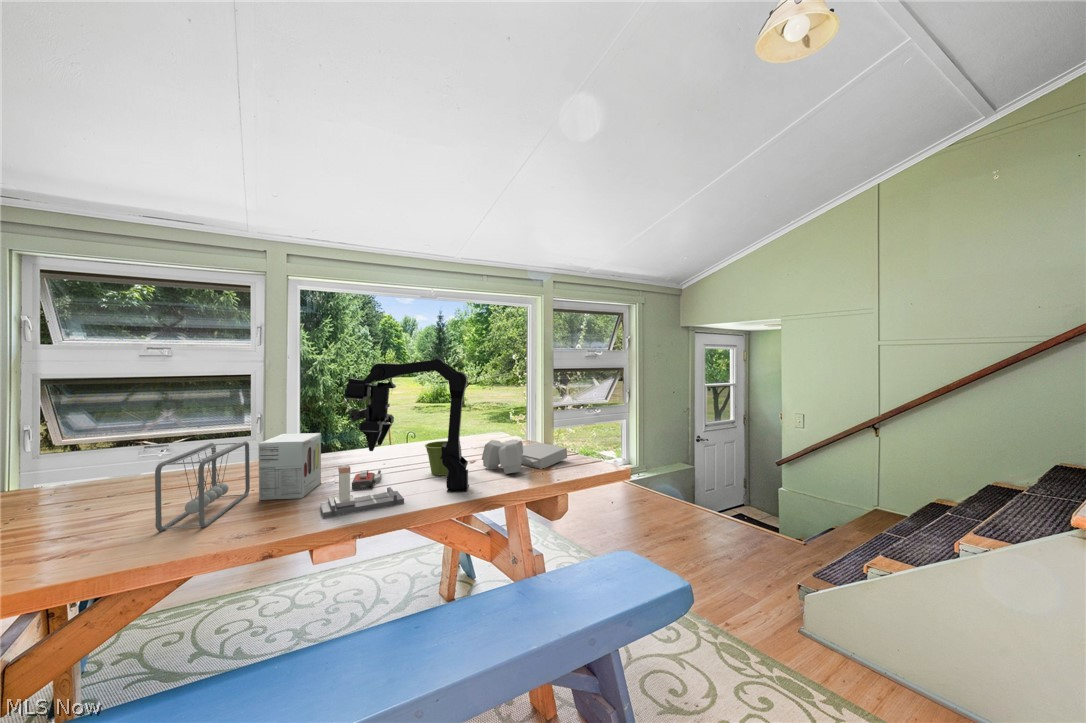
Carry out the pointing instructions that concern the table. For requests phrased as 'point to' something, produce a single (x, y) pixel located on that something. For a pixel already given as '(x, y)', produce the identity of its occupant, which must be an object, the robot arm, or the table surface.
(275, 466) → the supplement box
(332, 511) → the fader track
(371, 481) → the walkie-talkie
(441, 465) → the plant pot
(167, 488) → the table surface
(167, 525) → the newton's cradle
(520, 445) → the game console
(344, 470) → the lever
